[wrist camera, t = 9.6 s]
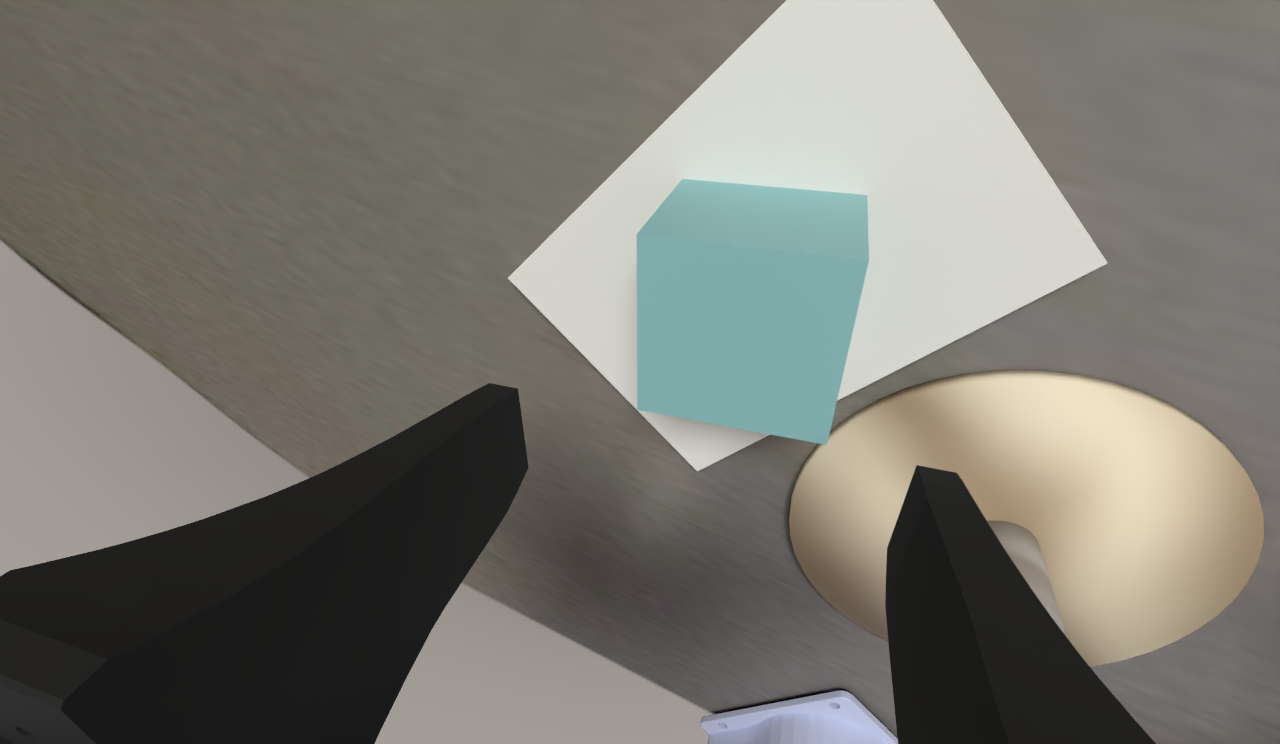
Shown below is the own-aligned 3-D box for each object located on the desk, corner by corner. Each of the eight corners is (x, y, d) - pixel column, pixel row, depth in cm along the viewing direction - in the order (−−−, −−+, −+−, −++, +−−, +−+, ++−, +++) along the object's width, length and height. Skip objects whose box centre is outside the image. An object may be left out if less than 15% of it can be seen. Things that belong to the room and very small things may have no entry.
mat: (700, 461, 23) (697, 471, 23) (515, 270, 21) (507, 277, 21) (1100, 253, 16) (1107, 263, 15) (874, -86, 13) (874, -88, 13)
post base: (918, 685, 27) (925, 776, 24) (716, 478, 24) (696, 553, 21) (1336, 609, 19) (1425, 731, 16) (1119, 282, 16) (1179, 357, 13)
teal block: (676, 331, 20) (637, 409, 16) (682, 179, 17) (636, 234, 14) (833, 354, 19) (827, 444, 15) (867, 195, 16) (869, 260, 12)
